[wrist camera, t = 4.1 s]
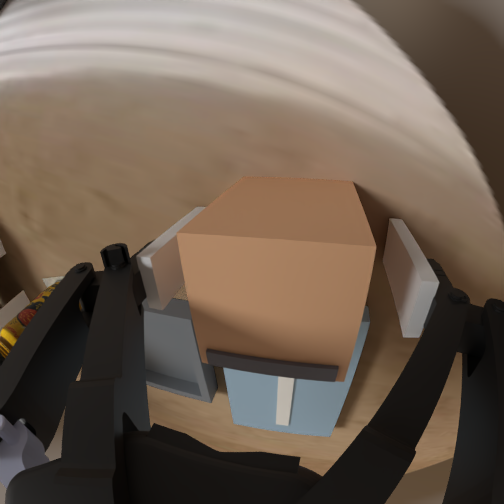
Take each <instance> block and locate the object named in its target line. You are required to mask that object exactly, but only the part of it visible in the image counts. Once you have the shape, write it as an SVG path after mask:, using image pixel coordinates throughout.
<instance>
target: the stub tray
mask: <svg viewBox="0 0 504 504" xmlns="http://www.w3.org/2000/svg"><path fill="white" fill-rule="evenodd" d="M142 305H143V308H144V348H145V371H146V385H149V386H152V387H155V388H158V389H161V390H165V391H168V392H171V393H175V394H178V395H182V396H185V397H189V398H193V399H197V400H201V401H205V402H209V403H212V400H213V398H214V396H215V393H216V391H217V388H218V385H217V381H216V376H215V372H214V367H213V365H208V364H207V363H203V362H202V360H201V356H200V352H199V348H198V343H197V339H196V335H195V330H194V326H193V321H192V316H191V311H190V307H189V302H188V301H186V300H180V299H174V298H172V299H171V301H170V302H169V303H168V304H167V306H166V307H165V308H164V309H163V310H158V309H153V308H149V305H148V301H147V298H145V300H144V301H143V302H142Z"/></svg>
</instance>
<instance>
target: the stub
mask: <svg viewBox="0 0 504 504" xmlns="http://www.w3.org/2000/svg"><path fill="white" fill-rule="evenodd" d="M176 234H177V241H178V247H179V253H180V259H181V264H182V270H183V276H184V281H185V286H186V292H187V297H188V302H189V307H190V311H191V316H192V321H193V326H194V330H195V335H196V339H197V343H198V348H199V352H200V356H201V360H202V362H203V363H207V364H208V365H213V366H218V367H223V368H228V369H234V370H239V371H245V372H251V373H258V374H264V375H271V376H279V377H286V378H295V379H304V380H314V381H326V382H335V381H338V382H344V380H345V377H346V374H347V371H348V368H349V364H350V361H351V358H352V354H353V351H354V347H355V343H356V340H357V336H358V332H359V328H360V324H361V320H362V316H363V312H364V308H365V303H366V299H367V294H368V289H369V284H370V280H371V274H372V269H373V264H374V258H375V252H376V244H375V241H374V238H373V235H372V232H371V229H370V226H369V224H368V221H367V218H366V215H365V212H364V210H363V207H362V204H361V202H360V199H359V197H358V194H357V192H356V189H355V186H354V184H353V182H351V181H338V180H323V179H305V178H281V177H243V178H241V179H240V180H239V181H238V182H236V183H235V184H234V185H233V186H231V187H230V188H229V189H228V190H226V191H225V192H224V193H223V194H221V195H220V196H219V197H218V198H217V199H215V200H214V201H213V202H212V203H211V204H209V205H208V206H207V207H206V208H205V209H203V210H202V211H201V212H200V213H199V214H198V215H196V216H195V217H194V218H193V219H192V220H191V221H189V222H188V223H187V224H186V225H185V226H184V227H182V228H181V229H180V230H179V231H178V232H177V233H176Z"/></svg>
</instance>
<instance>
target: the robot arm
mask: <svg viewBox="0 0 504 504" xmlns="http://www.w3.org/2000/svg"><path fill="white" fill-rule="evenodd" d="M5 2H6V0H0V9H1V7H2V6H3V5H4V3H5ZM205 208H206V207H196V208H195V209H194V210H192V211H191V212H190V213H188V214H187V215H186V216H185V217H183V218H182V219H181V220H179V221H178V222H177V223H176V224H174V225H173V226H172V227H171V228H169V229H168V230H167V231H166V232H164V233H163V234H162V235H161V236H160V237H158V238H157V239H155V240H153V241H151V242H149V243H148V244H147V245H145V246H144V247H143V248H142V249H140V250H139V252H137V253H136V254H134V255H133V256H132V257H131V258H130V257H129V253H128V248H127V245H126V244H123V243H117V244H112V245H109V246H107V247H105V248H104V249H102V250H101V252H100V253H101V257H102V260H103V264H104V267H105V269H104V271H96V272H95V271H94V268H93V265H92V264H91V263H88V262H86V263H80V264H77V265H76V266H74V267H73V268H72V269H70V271H69V272H68V273H67V274H66V275H65V277H64V278H63V279H62V280H61V281H60V283H59V284H58V285H57V286H56V288H55V289H54V290H53V291H52V293H51V294H50V295H49V296H48V298H47V299H46V300H45V302H44V303H43V304H42V306H41V307H40V308H39V310H38V311H37V312H36V314H35V315H34V316H33V318H32V319H31V321H30V322H29V323H28V325H27V326H26V328H25V329H24V331H23V332H22V334H21V335H20V337H19V338H18V340H17V341H16V343H15V344H14V346H13V347H12V349H11V350H10V352H9V353H8V355H7V357H6V358H5V360H4V361H3V363H2V365H1V366H0V481H1V483H2V484H3V485H4V486H5V487H6V489H7V490H6V498H5V504H384V503H385V502H386V501H387V499H388V498H389V496H390V495H391V494H392V492H393V491H394V489H395V488H396V486H397V485H398V483H399V481H400V480H401V479H402V477H403V475H404V474H405V472H406V471H407V469H408V467H409V466H410V464H411V462H412V460H413V458H414V456H415V454H416V451H415V447H416V445H417V443H418V442H419V440H420V438H421V436H422V434H423V432H424V430H425V428H426V426H427V424H428V422H429V420H430V418H431V416H432V414H433V411H434V409H435V407H436V405H437V402H438V400H439V398H440V395H441V393H442V391H443V388H444V386H445V383H446V380H447V378H448V375H449V372H450V370H451V367H452V364H453V361H454V358H455V355H456V352H460V353H462V393H461V407H460V418H459V426H458V434H457V441H456V447H455V453H454V458H453V463H452V468H451V473H450V477H449V481H448V485H447V489H446V493H445V496H444V500H443V503H442V504H504V302H502V301H501V300H498V299H493V298H491V299H488V300H487V301H486V303H485V306H484V308H483V307H479V306H476V305H472V304H470V299H469V297H468V295H467V294H465V293H464V292H463V291H461V290H459V289H456V288H453V286H452V284H451V282H450V281H449V279H448V277H447V276H446V274H445V272H444V271H443V269H442V267H441V266H440V264H439V263H437V262H436V261H435V260H434V259H426V257H425V256H424V254H423V252H422V251H421V249H420V247H419V246H418V244H417V242H416V241H415V239H414V237H413V236H412V234H411V233H410V231H409V229H408V228H407V226H406V225H405V223H404V222H403V220H402V219H394V218H390V219H389V226H388V232H387V239H386V245H385V250H384V256H383V264H384V268H385V271H386V274H387V277H388V281H389V284H390V288H391V291H392V295H393V298H394V302H395V306H396V310H397V313H398V317H399V321H400V326H401V330H402V334H403V337H408V338H419V337H420V335H421V332H422V330H423V327H424V329H425V330H424V332H423V334H422V336H421V338H420V340H419V342H418V344H417V346H416V348H415V350H414V352H413V354H412V356H411V357H410V359H409V361H408V363H407V365H406V366H405V368H404V370H403V371H402V373H401V375H400V377H399V378H398V380H397V382H396V383H395V385H394V386H393V388H392V390H391V391H390V393H389V394H388V396H387V397H386V399H385V401H384V402H383V404H382V405H381V406H380V408H379V409H378V411H377V412H376V414H375V415H374V417H373V418H372V419H371V421H370V422H369V423H368V425H367V426H365V427H364V428H363V429H362V431H361V432H360V433H359V434H358V436H357V437H356V438H355V440H354V441H353V442H352V443H351V445H350V446H349V447H348V448H347V449H346V451H345V452H344V453H343V454H342V455H341V457H340V458H339V459H338V460H337V461H336V462H335V464H334V465H333V466H332V467H331V468H330V469H329V470H328V471H327V472H326V474H325V475H324V476H323V477H322V476H321V475H319V474H317V473H316V472H314V471H312V470H309V469H307V468H305V467H302V466H299V462H300V457H295V456H287V455H279V454H273V453H266V452H219V451H216V450H214V449H212V448H210V447H208V446H207V445H205V444H203V443H201V442H199V441H198V440H196V439H194V438H192V437H191V436H189V435H187V434H185V433H182V432H179V431H176V430H173V429H170V428H167V427H164V426H161V425H158V424H155V423H154V424H153V426H152V428H151V426H150V419H149V410H148V399H147V386H146V371H145V348H144V308H143V305H142V302H143V301H144V300H145V298H147V301H148V305H149V308H153V309H158V310H163V309H164V308H165V307H166V306H167V304H168V303H169V302H170V301H171V299H172V298H173V297H174V295H175V294H176V293H177V292H178V290H179V289H180V288H181V287H182V285H183V284H184V283H185V281H184V276H183V270H182V264H181V259H180V253H179V247H178V241H177V234H176V233H177V232H178V231H179V230H180V229H181V228H182V227H184V226H185V225H186V224H187V223H188V222H189V221H191V220H192V219H193V218H194V217H195V216H196V215H198V214H199V213H200V212H201V211H202V210H203V209H205ZM79 302H80V304H81V307H82V308H81V310H80V308H79ZM81 367H82V372H81V378H80V381H76V379H77V376H78V374H79V371H80V369H81ZM65 406H66V408H65ZM64 409H65V416H64V426H63V438H62V453H61V458H59V459H56V460H53V461H49V458H48V457H47V456H46V455H45V452H46V450H47V449H48V447H49V445H50V443H51V441H52V439H53V438H54V435H55V433H56V430H57V428H58V425H59V422H60V419H61V417H62V414H63V411H64Z"/></svg>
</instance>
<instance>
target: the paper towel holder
mask: <svg viewBox="0 0 504 504" xmlns="http://www.w3.org/2000/svg"><path fill="white" fill-rule="evenodd" d="M5 254H6V252H5V249H4V247H3V245H2V242H1V240H0V257H2V256H3V255H5ZM29 303H30V301H29V299H28V298H27V296H26V294H25V292H24V290H23V291H22V292H20V293H19V294H18V295H17V296H16V297H14V298H13V299H12V300H11V301H10V302H8V303H7V304H6V305H5V306H4V307H3V308H2V309H0V334H1V330H2V328H3V327H4V326H5V325H6V324H7V323H8V322H9V321H11V320H12V319H13V318H14V317H15V316H16V315H17V314H18V313H19V312H21V310H23V309H24V308H25V307H26V306H27V305H28V304H29Z"/></svg>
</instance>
